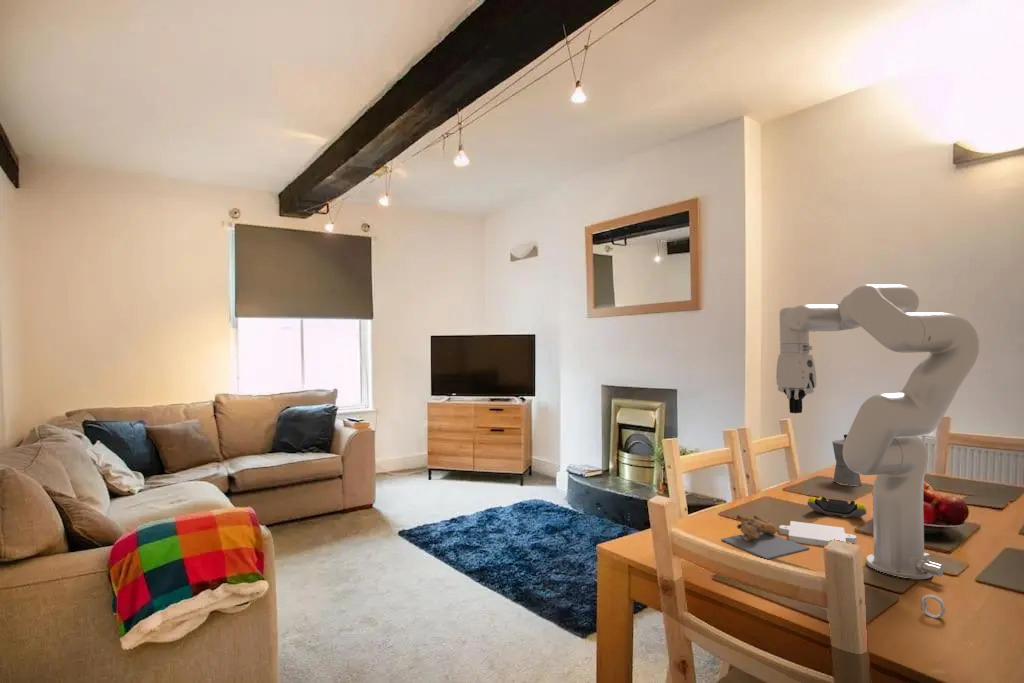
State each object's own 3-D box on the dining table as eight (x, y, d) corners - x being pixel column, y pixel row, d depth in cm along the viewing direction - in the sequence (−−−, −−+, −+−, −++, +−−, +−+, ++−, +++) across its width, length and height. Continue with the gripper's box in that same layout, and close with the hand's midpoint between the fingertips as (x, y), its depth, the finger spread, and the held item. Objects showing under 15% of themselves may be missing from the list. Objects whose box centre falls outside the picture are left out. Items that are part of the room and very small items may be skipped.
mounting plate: (778, 541, 145) (777, 533, 145) (781, 526, 156) (780, 519, 156) (858, 552, 136) (857, 545, 136) (854, 536, 147) (854, 529, 147)
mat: (809, 549, 137) (809, 547, 137) (766, 559, 131) (766, 558, 131) (762, 531, 151) (761, 530, 151) (721, 540, 145) (721, 538, 145)
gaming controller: (866, 524, 155) (867, 515, 163) (865, 505, 155) (867, 497, 163) (806, 516, 164) (811, 507, 172) (806, 497, 164) (810, 490, 172)
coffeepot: (824, 478, 206) (824, 431, 206) (850, 479, 206) (849, 431, 206) (846, 489, 191) (845, 438, 191) (874, 489, 190) (873, 438, 190)
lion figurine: (726, 534, 148) (751, 545, 139) (726, 515, 148) (751, 524, 139) (767, 529, 153) (794, 539, 144) (767, 510, 153) (794, 519, 144)
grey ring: (946, 617, 103) (945, 596, 103) (945, 622, 101) (944, 600, 101) (922, 611, 105) (921, 591, 105) (921, 616, 104) (920, 595, 104)
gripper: (827, 349, 152) (828, 414, 152) (781, 349, 166) (782, 409, 166) (809, 349, 149) (810, 416, 149) (763, 349, 163) (765, 411, 163)
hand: (795, 412), depth 158 cm, fingers closed
